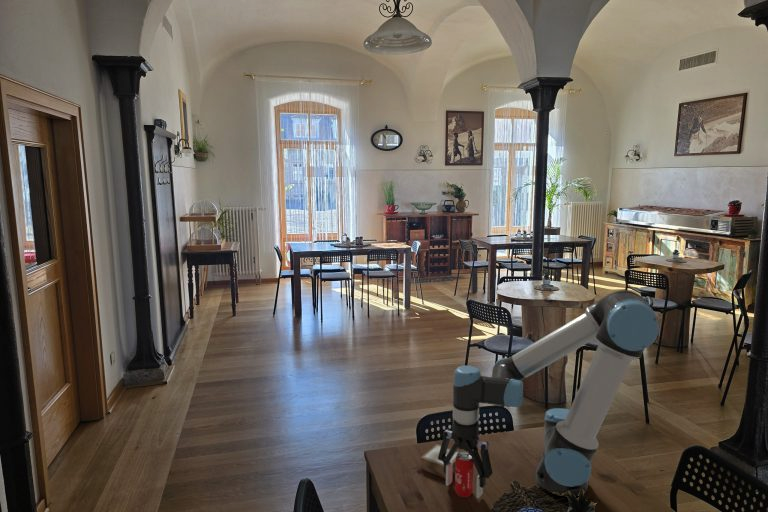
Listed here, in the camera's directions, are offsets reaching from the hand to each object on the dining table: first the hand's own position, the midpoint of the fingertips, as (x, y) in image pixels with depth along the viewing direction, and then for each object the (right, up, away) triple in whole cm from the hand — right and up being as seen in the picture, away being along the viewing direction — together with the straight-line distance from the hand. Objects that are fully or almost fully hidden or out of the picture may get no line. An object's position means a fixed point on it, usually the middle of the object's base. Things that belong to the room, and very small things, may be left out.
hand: (463, 489), depth 152 cm
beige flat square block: (-5, +1, +14) cm, 14 cm away
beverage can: (0, -1, 0) cm, 1 cm away
